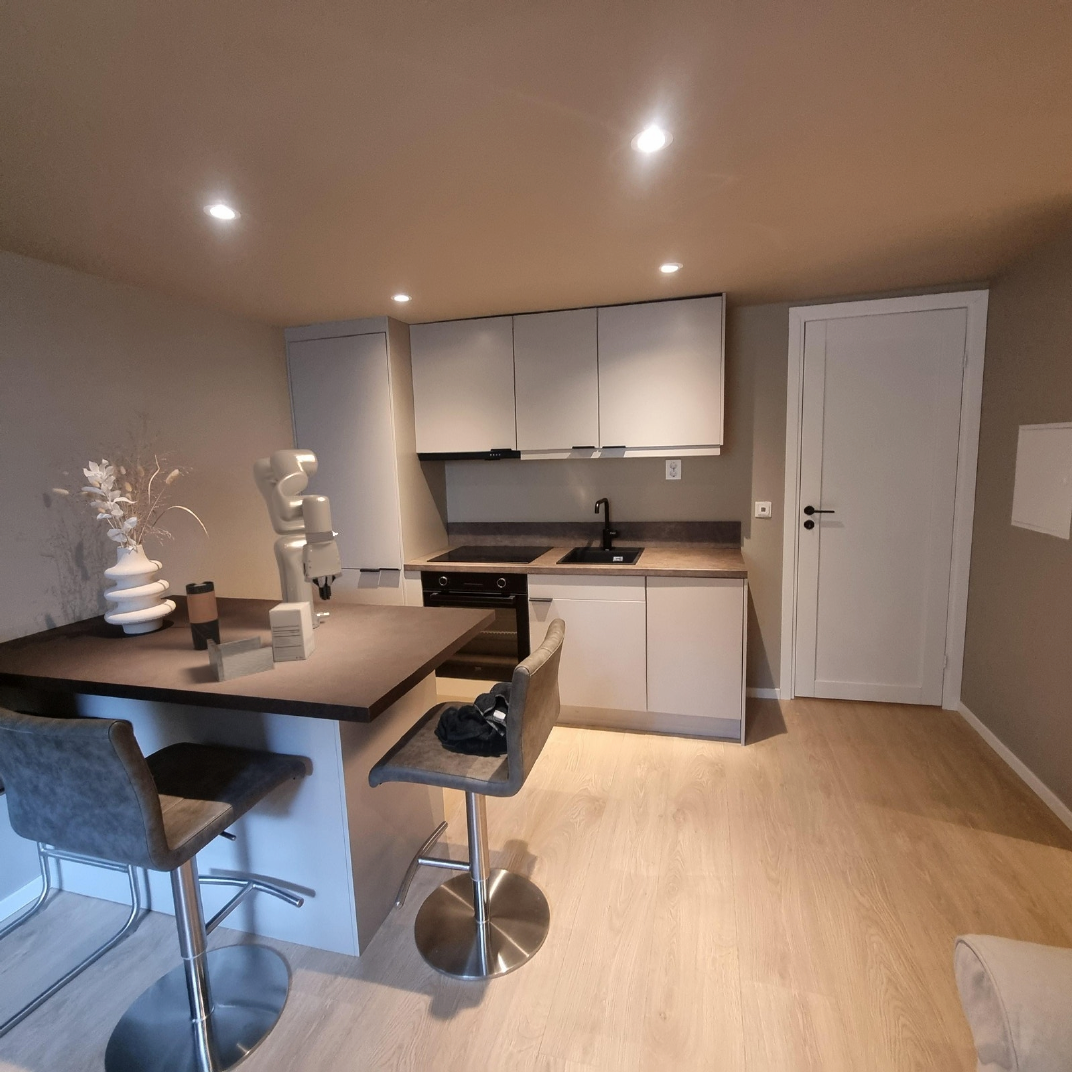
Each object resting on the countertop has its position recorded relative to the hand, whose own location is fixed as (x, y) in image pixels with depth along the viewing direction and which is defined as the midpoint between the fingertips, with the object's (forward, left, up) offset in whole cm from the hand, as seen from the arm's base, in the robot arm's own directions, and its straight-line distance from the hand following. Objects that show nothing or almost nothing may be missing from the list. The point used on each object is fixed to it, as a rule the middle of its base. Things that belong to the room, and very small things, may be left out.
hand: (325, 599), depth 168 cm
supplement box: (+10, -1, -15) cm, 18 cm away
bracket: (+24, -1, -15) cm, 28 cm away
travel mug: (+28, -31, -15) cm, 44 cm away
